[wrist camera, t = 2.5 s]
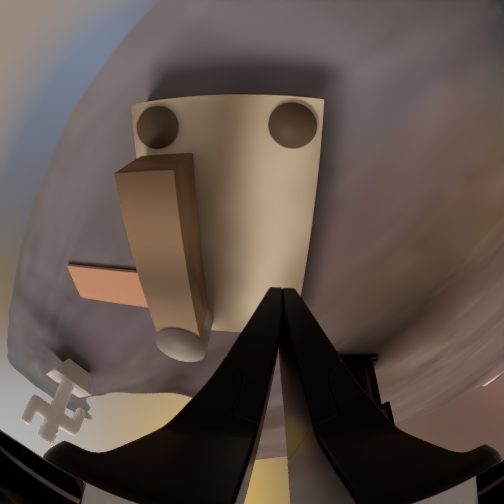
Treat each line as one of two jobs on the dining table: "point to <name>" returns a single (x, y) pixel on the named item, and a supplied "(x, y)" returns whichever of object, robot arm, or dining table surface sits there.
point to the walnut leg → (168, 250)
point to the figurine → (61, 401)
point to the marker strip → (108, 284)
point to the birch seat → (243, 188)
